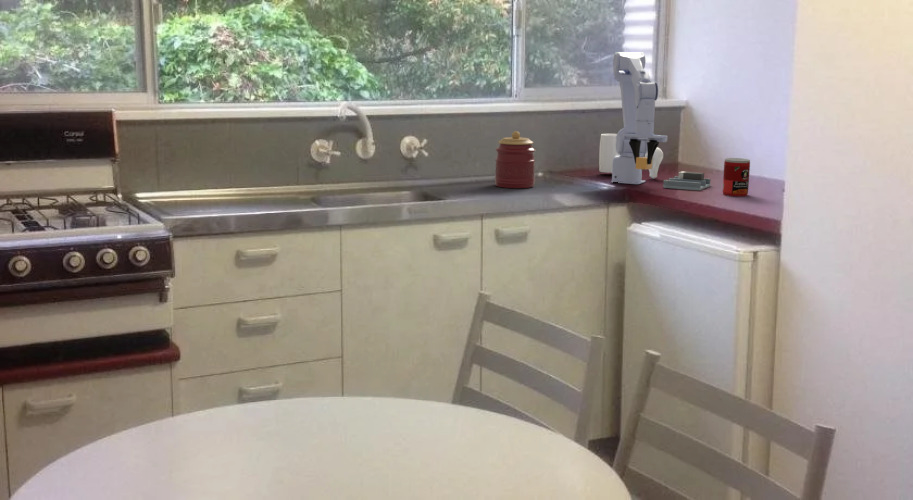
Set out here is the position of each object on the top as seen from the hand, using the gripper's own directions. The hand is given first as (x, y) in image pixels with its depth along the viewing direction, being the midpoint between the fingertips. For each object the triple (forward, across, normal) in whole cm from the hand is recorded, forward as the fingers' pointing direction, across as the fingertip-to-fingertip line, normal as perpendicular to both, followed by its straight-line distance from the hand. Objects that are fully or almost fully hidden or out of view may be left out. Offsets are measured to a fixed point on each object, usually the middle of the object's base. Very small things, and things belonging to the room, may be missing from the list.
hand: (642, 163), depth 345 cm
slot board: (+8, +11, +13) cm, 19 cm away
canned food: (+8, +29, +3) cm, 30 cm away
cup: (+8, -21, +29) cm, 37 cm away
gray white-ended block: (+7, +12, +16) cm, 21 cm away
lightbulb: (+8, -5, +27) cm, 29 cm away
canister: (+8, -37, -17) cm, 41 cm away
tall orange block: (+2, 0, +2) cm, 2 cm away
